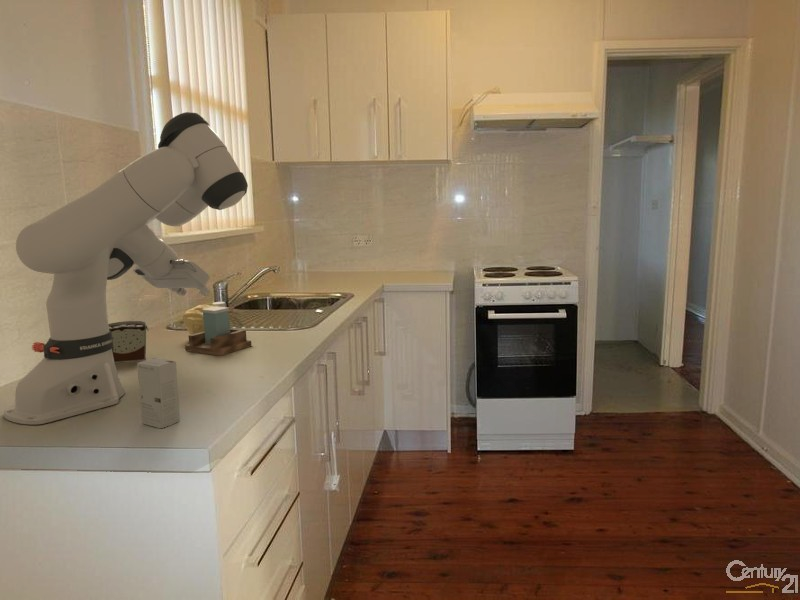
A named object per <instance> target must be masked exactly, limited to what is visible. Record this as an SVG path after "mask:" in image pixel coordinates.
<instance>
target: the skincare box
mask: <svg viewBox="0 0 800 600" xmlns="http://www.w3.org/2000/svg"><path fill="white" fill-rule="evenodd" d="M177 372H178V371H177V361H175V360H169V359H167V358H159V357H151V358H149V359H146V360H141V361H139V362H137V376H138V387H139V388H138V389H139V403H140V414H141V416H140V417H141V423H142V424H144V425H147V426H149V427H154V428H158V429H164V427H165V428H168V427H170V426H172V424H173V425H175V424H176V422H177V423H178V422H180V405H179V389H178V375H177V374H178V373H177ZM174 423H175V424H174ZM169 425H170V426H169ZM167 426H168V427H167Z"/></svg>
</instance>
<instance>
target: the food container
mask: <svg viewBox="0 0 800 600" xmlns="http://www.w3.org/2000/svg"><path fill="white" fill-rule="evenodd" d="M108 324H109V330H110V331H111V332H112V338H113V346H114V351H113V357H114V362H117V363H126V362H125V361H129V362H138V361H139V362H142V361H145V360H147V354H146V353H147V332H149V328H148V327H149V326H148V325H147V323H146V322H145V321H141V320H127V321H125V320H124V321H117V322H111V323H108Z"/></svg>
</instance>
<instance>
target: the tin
mask: <svg viewBox="0 0 800 600" xmlns="http://www.w3.org/2000/svg"><path fill="white" fill-rule="evenodd" d="M229 311H230V307H217V306H216V307H211V308H207V309H202V312H203V320H204V331H205V343H206V344H209V345H211V341H210V338H214V337H218V336H221V335H225V334H229V333H230V328H231V324H230V323H231V322H230V312H229Z"/></svg>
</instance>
